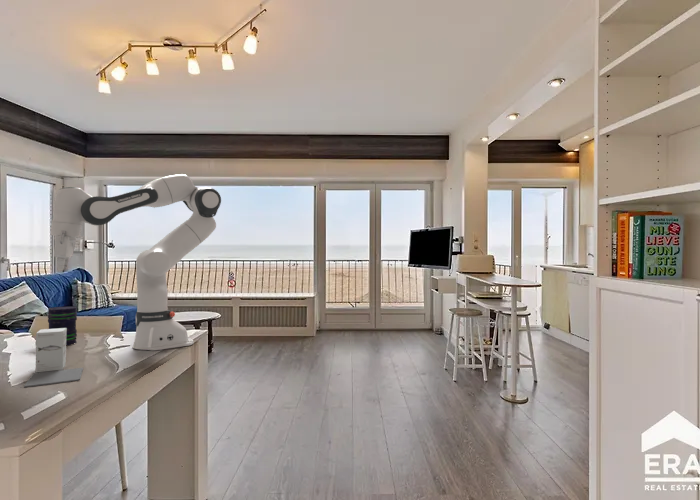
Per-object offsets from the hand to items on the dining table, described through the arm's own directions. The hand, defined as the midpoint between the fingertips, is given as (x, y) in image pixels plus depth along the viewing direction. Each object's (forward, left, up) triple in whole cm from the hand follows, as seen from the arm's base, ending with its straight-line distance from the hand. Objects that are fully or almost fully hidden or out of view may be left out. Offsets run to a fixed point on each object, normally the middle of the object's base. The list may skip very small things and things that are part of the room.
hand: (62, 270), depth 147 cm
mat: (-1, +27, -31) cm, 42 cm away
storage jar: (+2, -27, -32) cm, 42 cm away
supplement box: (+1, +15, -32) cm, 35 cm away
